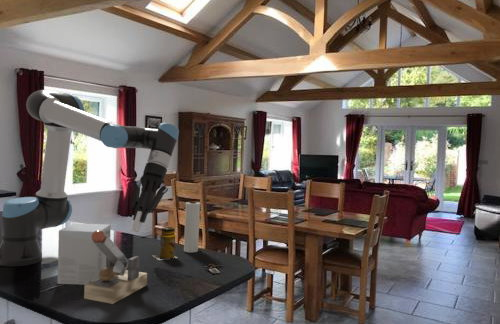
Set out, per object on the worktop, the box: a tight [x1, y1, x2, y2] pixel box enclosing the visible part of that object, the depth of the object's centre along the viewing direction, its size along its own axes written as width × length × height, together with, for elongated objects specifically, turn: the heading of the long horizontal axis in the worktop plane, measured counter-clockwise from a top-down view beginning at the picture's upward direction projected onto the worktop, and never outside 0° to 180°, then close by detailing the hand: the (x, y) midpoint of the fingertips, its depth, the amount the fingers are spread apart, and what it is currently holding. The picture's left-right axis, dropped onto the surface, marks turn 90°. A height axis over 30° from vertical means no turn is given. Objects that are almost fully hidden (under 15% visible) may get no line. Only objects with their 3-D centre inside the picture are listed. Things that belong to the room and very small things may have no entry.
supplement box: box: [57, 222, 112, 286], centre depth 143 cm, size 13×13×18 cm
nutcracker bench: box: [83, 255, 148, 305], centre depth 132 cm, size 18×10×10 cm, turn 162°
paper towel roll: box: [183, 201, 201, 254], centre depth 185 cm, size 7×6×21 cm
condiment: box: [151, 226, 178, 261], centre depth 174 cm, size 7×8×12 cm
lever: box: [91, 230, 129, 276], centre depth 128 cm, size 5×6×19 cm
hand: (135, 231), depth 141 cm, fingers closed
